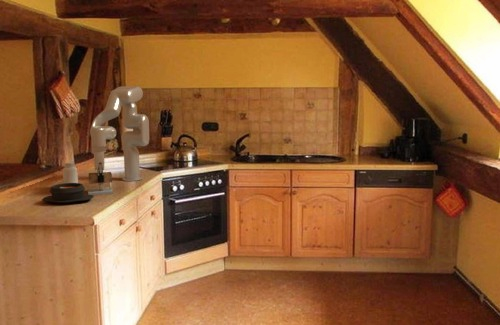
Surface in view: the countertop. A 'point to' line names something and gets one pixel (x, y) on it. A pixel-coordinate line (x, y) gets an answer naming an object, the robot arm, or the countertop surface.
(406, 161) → the countertop surface
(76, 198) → the black low round piece
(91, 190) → the base
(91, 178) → the wooden h-shaped stand
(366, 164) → the countertop surface
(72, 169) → the pill bottle
